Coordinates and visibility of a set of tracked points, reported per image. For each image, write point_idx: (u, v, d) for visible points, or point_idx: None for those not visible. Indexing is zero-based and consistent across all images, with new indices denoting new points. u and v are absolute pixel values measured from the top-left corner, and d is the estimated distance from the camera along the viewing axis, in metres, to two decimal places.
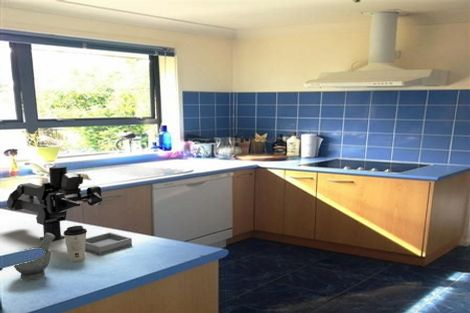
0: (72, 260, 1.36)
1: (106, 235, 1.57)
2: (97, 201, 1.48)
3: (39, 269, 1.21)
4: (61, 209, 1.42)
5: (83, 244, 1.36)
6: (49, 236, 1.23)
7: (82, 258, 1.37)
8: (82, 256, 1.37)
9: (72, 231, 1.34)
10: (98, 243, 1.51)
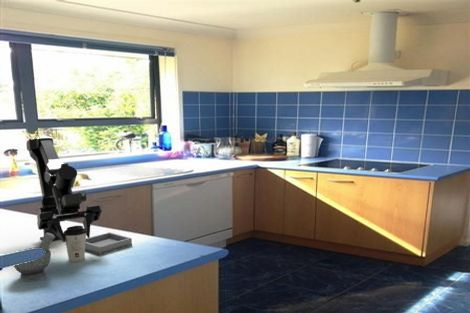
0: (72, 260, 1.36)
1: (106, 235, 1.57)
2: (86, 232, 1.40)
3: (39, 269, 1.21)
4: (52, 230, 1.37)
5: (83, 244, 1.36)
6: (49, 236, 1.23)
7: (82, 258, 1.37)
8: (82, 256, 1.37)
9: (72, 231, 1.34)
10: (98, 243, 1.51)
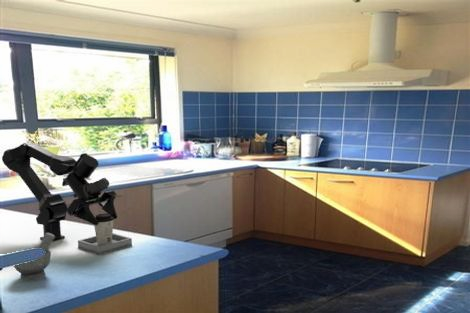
0: None
1: None
2: (111, 214, 1.54)
3: (39, 269, 1.21)
4: (80, 216, 1.45)
5: (112, 229, 1.50)
6: (49, 236, 1.23)
7: (111, 242, 1.51)
8: (111, 240, 1.50)
9: (105, 218, 1.47)
10: None
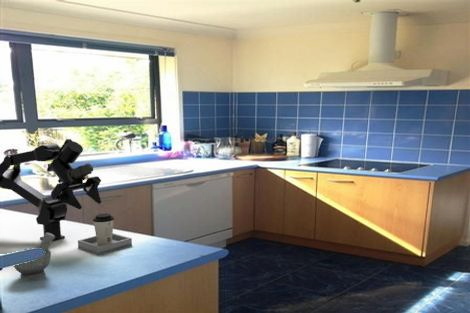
0: None
1: None
2: (95, 199, 1.57)
3: (39, 269, 1.21)
4: (63, 200, 1.48)
5: (112, 229, 1.50)
6: (49, 236, 1.23)
7: (111, 242, 1.51)
8: (111, 240, 1.50)
9: (105, 218, 1.47)
10: None
